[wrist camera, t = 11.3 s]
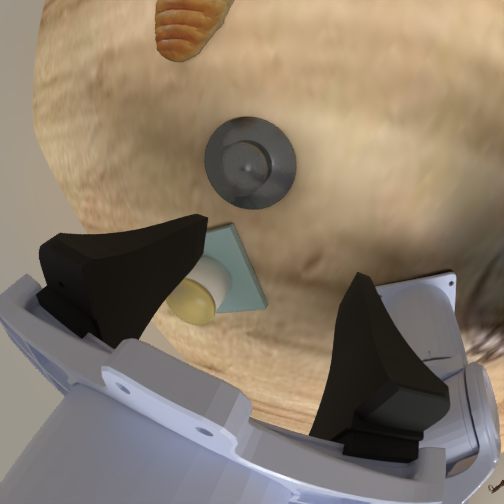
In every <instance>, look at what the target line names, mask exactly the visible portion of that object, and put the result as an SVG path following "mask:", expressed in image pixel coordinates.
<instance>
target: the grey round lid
mask: <svg viewBox="0 0 504 504" xmlns="http://www.w3.org/2000/svg"><path fill="white" fill-rule="evenodd" d="M205 169H206V173H207V176H208V179H209V181H210V183H211V185H212V186H213V188H214V189H215V191H216V192H217V193H218V194H219V195H220V196H221V197H222V198H223V199H225V200H226V201H227V202H229V203H231V204H233V205H235V206H237V207H240V208H244V209H252V210H254V209H263V208H266V207H269V206H271V205H273V204H275V203H277V202H278V201H280V200H281V199H282V198H283V197H284V196H285V195H286V193H287V192H288V191H289V189H290V188H291V186H292V184H293V181H294V179H295V175H296V156H295V152H294V149H293V147H292V145H291V143H290V141H289V139H288V138H287V136H286V135H285V134H284V133H283V132H282V131H281V130H280V129H279V128H278V127H276V126H275V125H274V124H272V123H270V122H268V121H266V120H263V119H259V118H254V117H243V118H237V119H234V120H231V121H229V122H227V123H225V124H223V125H222V126H221V127H219V128H218V129H217V130H216V131H215V132H214V134H213V135H212V137H211V138H210V140H209V142H208V145H207V148H206V152H205Z"/></svg>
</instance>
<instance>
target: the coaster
mask: <svg viewBox="0 0 504 504" xmlns="http://www.w3.org/2000/svg"><path fill="white" fill-rule="evenodd" d="M202 256H207V257H211V258H214V259H216V260H218V261H219V262H221V263H222V264H223V265H224V266H225V267H226V268H227V270H228V271H229V273H230V275H231V278H232V287H231V290H230V291H229V293H228V294H227V296H226V297H225V299H224V300H223V302H222V303H221V305H220V306H219V308H218V309H217V311H216V312H215V313H227V312H239V311H251V310H262V309H266V307H267V305H268V303H267V300H266V298H265V296H264V294H263V291H262V289H261V287H260V284H259V282H258V280H257V277H256V275H255V273H254V270H253V268H252V266H251V263H250V261H249V259H248V256H247V254H246V252H245V249H244V247H243V245H242V242H241V240H240V238H239V235H238V233H237V231H236V228H235V226H234V224H230V225H226V226H223V227H219V228H215V229H212V230H208V231H206V238H205V245H204V253H203V255H202Z"/></svg>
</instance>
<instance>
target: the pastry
mask: <svg viewBox="0 0 504 504" xmlns="http://www.w3.org/2000/svg"><path fill="white" fill-rule="evenodd" d="M233 2H234V0H158V1H157V3H156V14H155V22H156V24H155V34H156V38H155V40H156V42H157V50H158V51H159V52H160V54H161V55H162V56H163V57H165V58H166V59H168V60H171V61H175V62H183V61H185V60H187V59H190V58H192V57H194V56H196V55H197V54H199V53H200V51H201V50H202V48H203V47H204V46H205V45H206V43H207V41H208V40H209V39H210V38H211V37H212V36H213V34H214V33H215V32H216V31H217V30H218V29H219V28H220V27H221V26H222V25H223V24H224V19H225V17H226V15H227V14H228V11H229V9H230V7H231V6H232V4H233Z"/></svg>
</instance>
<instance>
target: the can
mask: <svg viewBox="0 0 504 504" xmlns="http://www.w3.org/2000/svg"><path fill="white" fill-rule="evenodd" d="M231 287H232V278H231V275H230V273H229V271H228V270H227V268H226V267H225V266H224V265H223V264H222V263H221V262H219V261H218V260H216V259H214V258H211V257H207V256H201V258H200V259H199V261H198V262H197V264H196V265H195V267H194V268H193V269H192V270H191V272H190V273H189V274H188V275H187V276H186V277H185V278H184V279H183V280H182V282H181V283H180V284H179V285H178V286H177V287H176V288H175V289H174V290H173V291H172V293H171V294H170V295H169V296H168V297H167V298H166V302H167V304H168V306H169V307H170V309H171V310H172V312H173V313H174V314H175V315H176V316H178V317H179V318H180V319H182V320H183V321H185V322H187V323H189V324H192V325H199V326H200V325H205V324H207V323H209V322H210V321H211V319H212V318H213V316H214V315H215V312H216V311H217V309H218V308H219V306H220V305H221V303H222V302H223V300H224V299H225V297H226V296H227V294H228V293H229V291H230V290H231Z"/></svg>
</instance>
